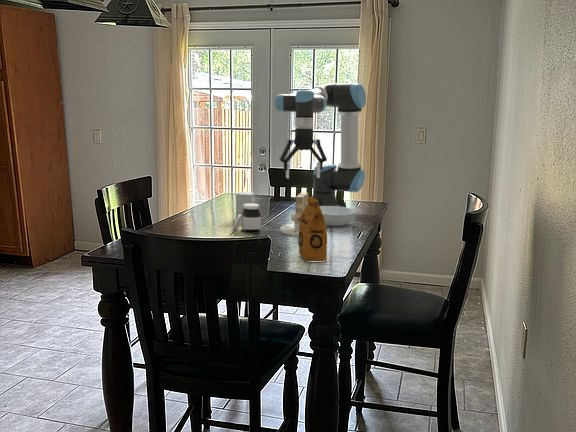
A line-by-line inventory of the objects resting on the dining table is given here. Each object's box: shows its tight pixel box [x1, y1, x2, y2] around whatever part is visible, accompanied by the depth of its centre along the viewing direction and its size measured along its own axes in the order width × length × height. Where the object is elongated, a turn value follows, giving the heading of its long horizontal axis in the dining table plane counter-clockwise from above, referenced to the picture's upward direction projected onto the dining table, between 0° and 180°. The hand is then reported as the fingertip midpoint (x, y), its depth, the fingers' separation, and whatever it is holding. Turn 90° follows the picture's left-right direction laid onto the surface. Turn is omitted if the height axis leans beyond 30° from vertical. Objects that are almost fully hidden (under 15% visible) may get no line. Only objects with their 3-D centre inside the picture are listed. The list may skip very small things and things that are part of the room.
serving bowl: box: [319, 205, 356, 228], centre depth 264 cm, size 21×21×7 cm
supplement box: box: [235, 191, 256, 222], centre depth 270 cm, size 7×7×13 cm
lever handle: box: [290, 192, 309, 222], centre depth 247 cm, size 12×9×11 cm
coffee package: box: [297, 196, 328, 262], centre depth 206 cm, size 10×12×22 cm
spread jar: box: [232, 202, 262, 234], centre depth 248 cm, size 12×11×12 cm
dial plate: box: [279, 221, 300, 237], centre depth 249 cm, size 18×18×5 cm
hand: (302, 178), depth 245 cm, fingers open, 13 cm apart
